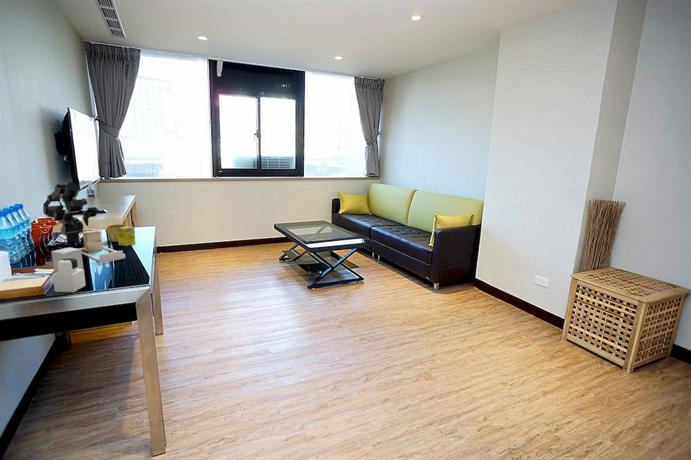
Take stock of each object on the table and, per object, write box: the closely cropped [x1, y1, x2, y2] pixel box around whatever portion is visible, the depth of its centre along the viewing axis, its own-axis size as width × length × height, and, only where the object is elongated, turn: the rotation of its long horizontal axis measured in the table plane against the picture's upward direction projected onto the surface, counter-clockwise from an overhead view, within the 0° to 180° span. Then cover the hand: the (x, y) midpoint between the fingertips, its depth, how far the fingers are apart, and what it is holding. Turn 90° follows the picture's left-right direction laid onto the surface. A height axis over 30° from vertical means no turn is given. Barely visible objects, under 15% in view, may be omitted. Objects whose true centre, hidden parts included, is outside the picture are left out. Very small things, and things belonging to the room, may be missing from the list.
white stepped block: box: [52, 258, 87, 293], centre depth 137 cm, size 7×7×12 cm
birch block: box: [82, 229, 103, 254], centre depth 182 cm, size 5×6×10 cm
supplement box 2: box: [117, 225, 136, 247], centre depth 197 cm, size 6×6×11 cm
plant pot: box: [106, 223, 128, 243], centre depth 204 cm, size 10×10×10 cm
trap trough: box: [78, 244, 126, 264], centre depth 179 cm, size 26×12×4 cm, turn 57°
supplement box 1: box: [50, 246, 84, 274], centre depth 146 cm, size 7×7×13 cm
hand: (82, 226), depth 186 cm, fingers open, 5 cm apart
